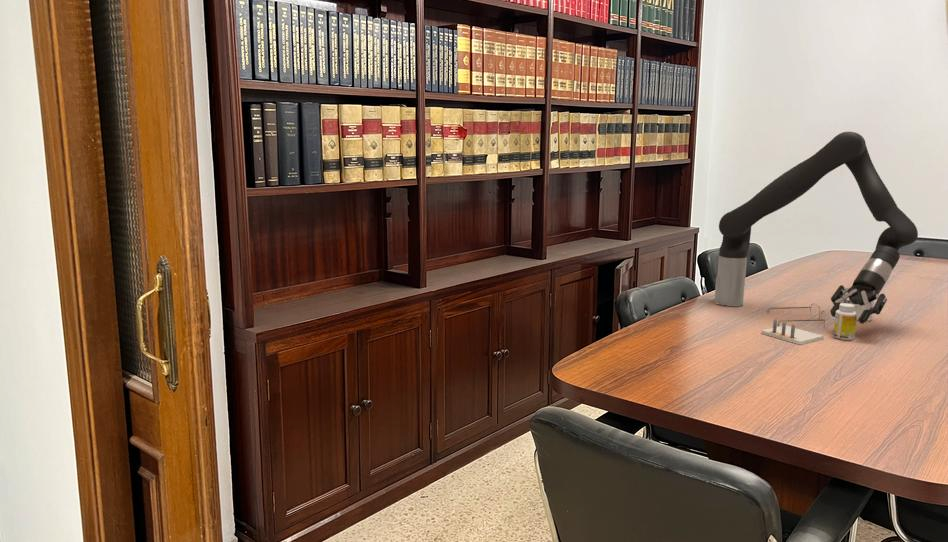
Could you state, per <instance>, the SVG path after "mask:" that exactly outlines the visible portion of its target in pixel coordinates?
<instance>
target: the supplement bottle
mask: <svg viewBox="0 0 948 542" xmlns="http://www.w3.org/2000/svg"><path fill="white" fill-rule="evenodd" d="M854 308H855V306H854V305H852V304H847V303H842V302H841V304H840V305H839V310H837V311H836V314H835V317H834V324H833V337H834V338H835V339H838V340H843V341H852V340H854V339H855V334H856V325H857V321H856V318H857V313H856V312H855V311H854Z"/></svg>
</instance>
